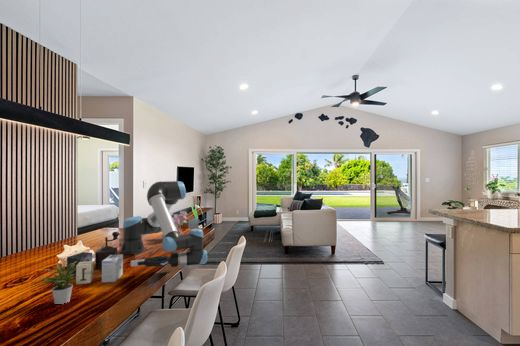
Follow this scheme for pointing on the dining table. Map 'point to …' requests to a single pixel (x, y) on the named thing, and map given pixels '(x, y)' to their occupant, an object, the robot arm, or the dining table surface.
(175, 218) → the flower
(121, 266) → the light bulb box
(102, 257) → the manual coffee grinder
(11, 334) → the dining table surface
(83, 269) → the beige block
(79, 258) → the small box
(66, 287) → the house plant
